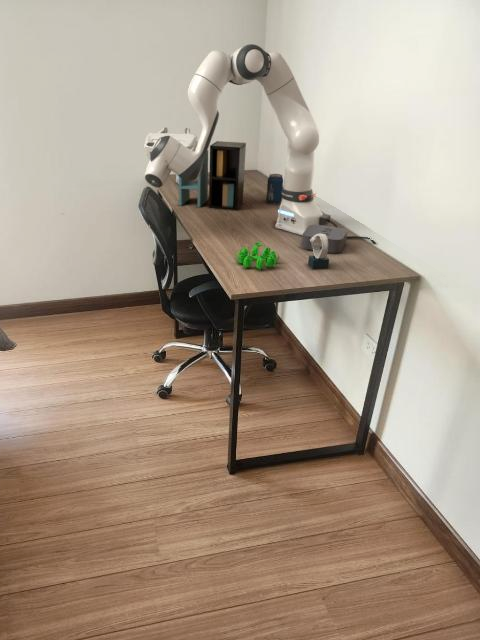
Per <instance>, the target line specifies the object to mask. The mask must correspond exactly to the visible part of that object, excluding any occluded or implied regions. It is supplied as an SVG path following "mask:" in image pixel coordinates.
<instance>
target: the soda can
mask: <svg viewBox="0 0 480 640" xmlns="http://www.w3.org/2000/svg"><path fill="white" fill-rule="evenodd" d="M283 187H284V177H283V174H280V173H271V174H269V176H268V178H267V185H266V197H265V199H266V201H267V202H266V203H267V204H270V205H278V204H281V202H282V197H281V196H282V188H283Z"/></svg>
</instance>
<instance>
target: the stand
mask: <svg viewBox="0 0 480 640" xmlns="http://www.w3.org/2000/svg"><path fill="white" fill-rule="evenodd" d="M190 190H191V191H192V190H193V191H197V205H196V206H197V208H201V207H202V206H203V205H204V204H206V202H209V149H208V150H207V153H206V155H205V158H204V162H203V165H202V169H201V172H200V174H199V176H198V177H197V180H194V181H184V180H183V179H182V178H180V177H179V184H178V206H179V207H180V206H183V205H185V204H186V203H187V202H188V201H189V200H190V199H191V196H190V195H191V194H190V193H191V191H190Z"/></svg>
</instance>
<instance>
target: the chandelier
mask: <svg viewBox="0 0 480 640" xmlns="http://www.w3.org/2000/svg"><path fill="white" fill-rule="evenodd" d="M260 247H262V243H261V242H255V243H254V246H253V247H252V249H251V251H250V250H249V248H247V247H241V248H240V249H239V251H238V252H237V253H236V254H235V257H234V260H235V262H236V263H237V264H239V265H243V268H245V269H249V268H250V267H251V266H252V264H253V261H254V260H256V263H255V264H256V267H255V268H256V269H258V271H261V270H262V269H263V268H264V264H265V266H266V267H267V268H270V269H271V268H274V267H275V266H276V264H277V263H278V261H279V259H280V254H279V253H278V252H277V251H275V250H271V248H270V247H268V246H266V247H265V248H264V249H263V251H262V254H261V255H259V248H260ZM237 256H238V258H237ZM237 259H238V260H237Z"/></svg>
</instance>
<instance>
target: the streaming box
mask: <svg viewBox="0 0 480 640" xmlns="http://www.w3.org/2000/svg"><path fill="white" fill-rule="evenodd" d="M320 233H322V234H326V236H327V238H328V252H327V253H332V254H339V253H341V252H342V250H343V249H344V247H345V245H346V244H347V238H346V237H347V236H348V229H346V228H345V227H344V228H343V227H335V226H329V225H325V226H322V225H310V226H309V227H308V228H307V229H306V230H305V231H304V233H303V235H302V238H301V248H302V249H305V250H309V251H313V247H312V242H310V239H311V238H312V237H313V236H314V235H316V234H320ZM321 250H322V246H321V247H320V251H321Z"/></svg>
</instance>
